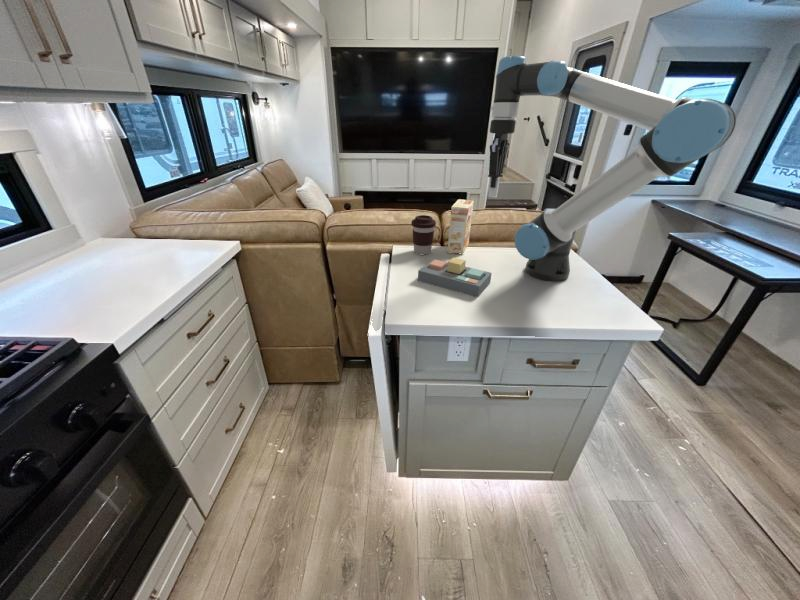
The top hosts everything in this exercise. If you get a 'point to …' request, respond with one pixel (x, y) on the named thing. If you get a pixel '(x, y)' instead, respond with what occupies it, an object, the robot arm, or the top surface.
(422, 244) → the coffee cup
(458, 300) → the top surface
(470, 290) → the keypad board
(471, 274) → the key
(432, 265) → the key
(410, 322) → the top surface
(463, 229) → the coffeecake box
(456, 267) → the key mid
